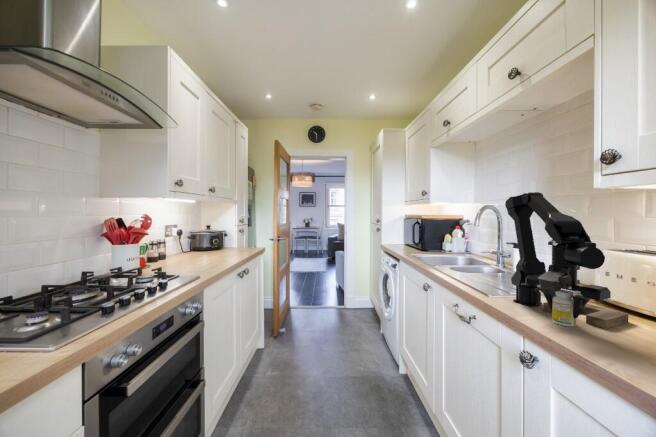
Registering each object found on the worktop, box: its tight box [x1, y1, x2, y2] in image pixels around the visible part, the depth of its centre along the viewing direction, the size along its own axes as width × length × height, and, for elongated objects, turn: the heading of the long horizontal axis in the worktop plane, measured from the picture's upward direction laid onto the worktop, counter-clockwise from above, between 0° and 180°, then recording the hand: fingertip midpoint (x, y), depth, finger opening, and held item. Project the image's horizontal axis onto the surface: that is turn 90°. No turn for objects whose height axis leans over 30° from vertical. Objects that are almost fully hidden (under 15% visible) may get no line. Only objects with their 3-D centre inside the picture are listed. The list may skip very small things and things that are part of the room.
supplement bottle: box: [551, 288, 577, 328], centre depth 82 cm, size 5×5×10 cm
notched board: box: [542, 301, 629, 330], centre depth 87 cm, size 16×12×2 cm
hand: (563, 314), depth 82 cm, fingers closed on supplement bottle, 5 cm apart
